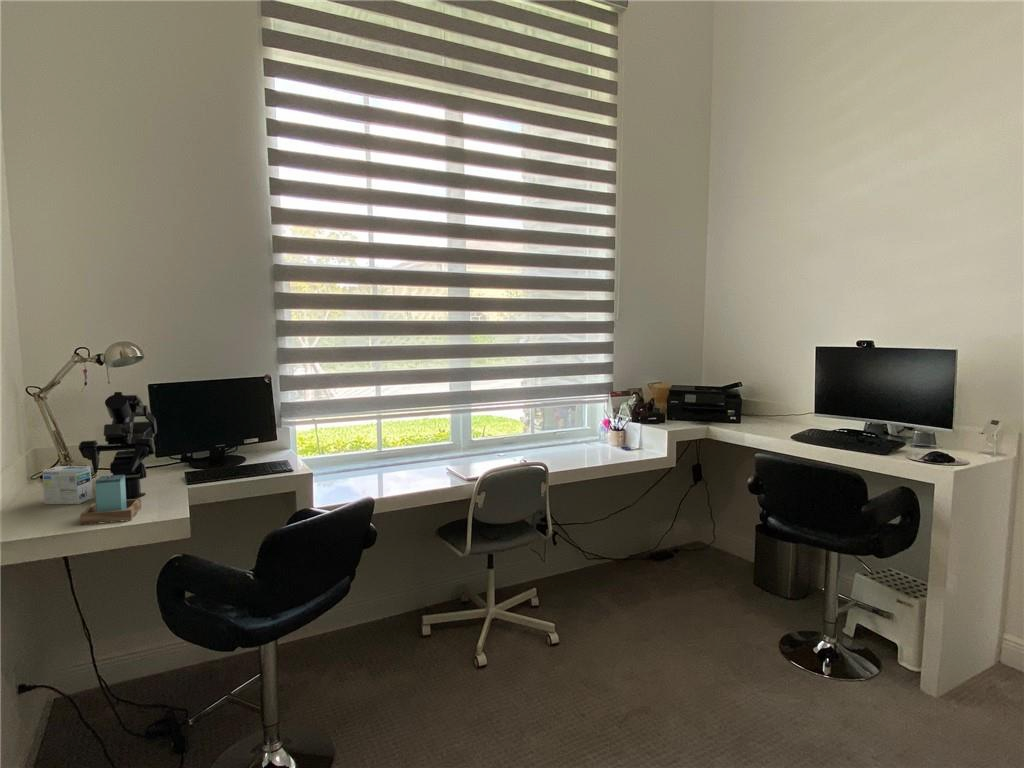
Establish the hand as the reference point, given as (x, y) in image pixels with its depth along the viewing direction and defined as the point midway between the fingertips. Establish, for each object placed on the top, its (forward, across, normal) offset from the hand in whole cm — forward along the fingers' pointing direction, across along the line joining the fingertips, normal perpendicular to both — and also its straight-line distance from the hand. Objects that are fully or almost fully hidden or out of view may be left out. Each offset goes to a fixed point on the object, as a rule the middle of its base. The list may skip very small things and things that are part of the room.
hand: (113, 471), depth 173 cm
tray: (+11, 0, +6) cm, 13 cm away
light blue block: (+11, 0, +6) cm, 12 cm away
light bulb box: (-3, -17, +21) cm, 27 cm away
